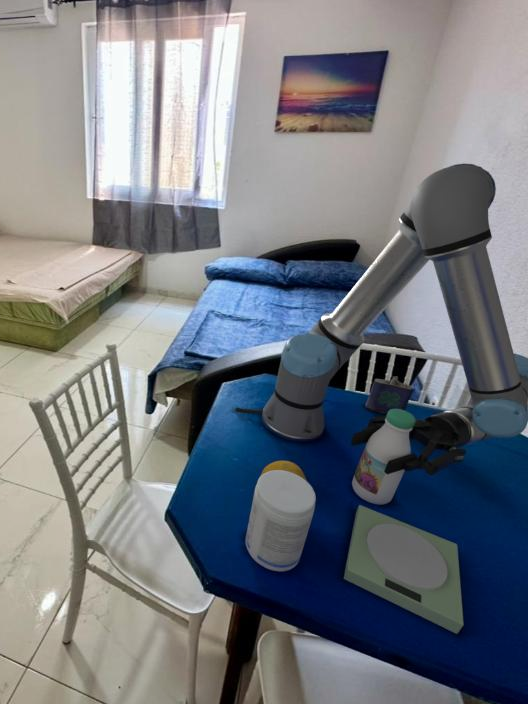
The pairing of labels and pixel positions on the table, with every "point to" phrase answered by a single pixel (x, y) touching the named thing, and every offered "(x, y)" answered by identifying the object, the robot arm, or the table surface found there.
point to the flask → (388, 395)
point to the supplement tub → (279, 519)
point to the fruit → (284, 468)
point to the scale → (406, 567)
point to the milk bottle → (383, 458)
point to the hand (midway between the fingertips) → (370, 453)
